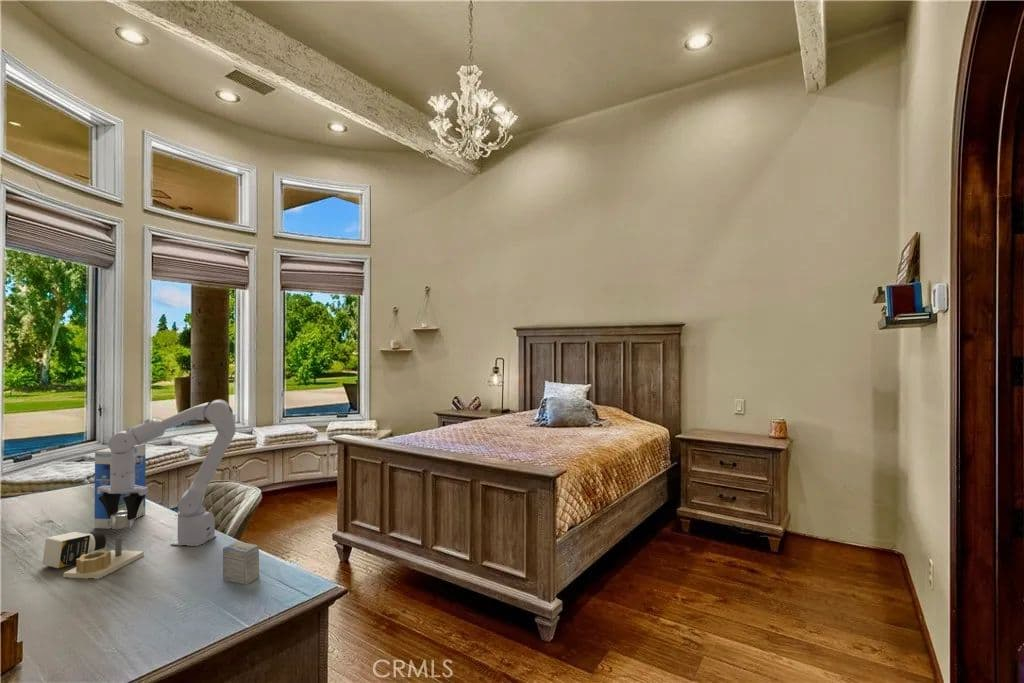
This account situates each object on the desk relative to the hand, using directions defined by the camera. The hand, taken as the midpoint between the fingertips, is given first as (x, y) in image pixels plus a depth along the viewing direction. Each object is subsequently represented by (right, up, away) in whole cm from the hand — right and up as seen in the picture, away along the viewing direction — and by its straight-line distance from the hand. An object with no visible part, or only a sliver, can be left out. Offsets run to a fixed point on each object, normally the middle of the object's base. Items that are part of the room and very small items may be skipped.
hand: (122, 518), depth 143 cm
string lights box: (-20, -10, +24) cm, 33 cm away
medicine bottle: (-11, -6, -11) cm, 16 cm away
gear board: (+3, -10, -9) cm, 14 cm away
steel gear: (0, -2, 0) cm, 2 cm away
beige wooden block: (+44, -10, -16) cm, 48 cm away
